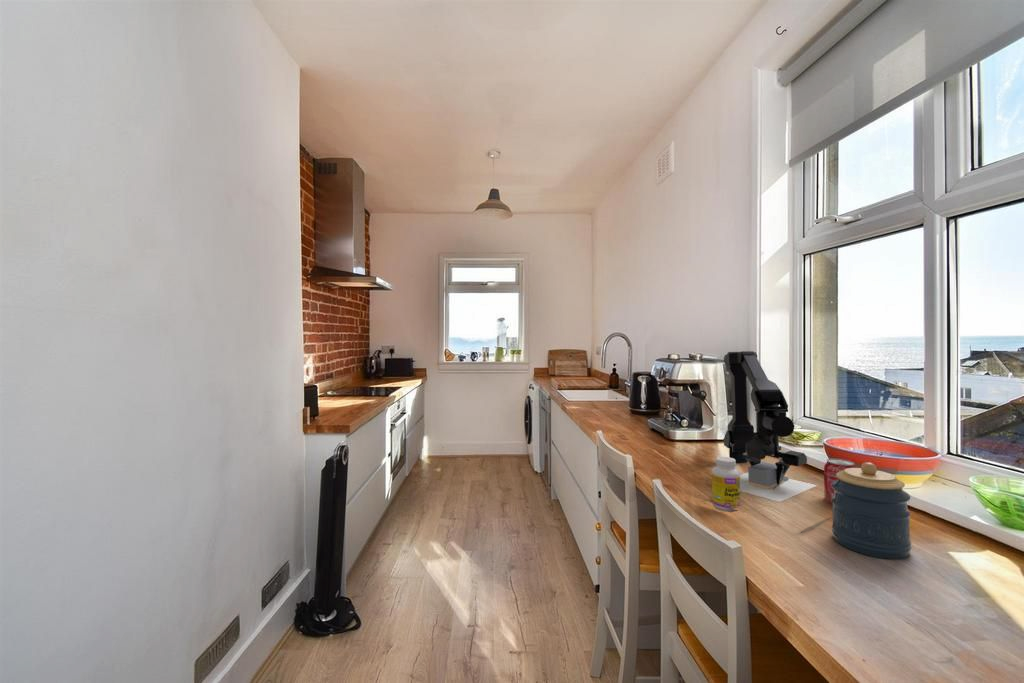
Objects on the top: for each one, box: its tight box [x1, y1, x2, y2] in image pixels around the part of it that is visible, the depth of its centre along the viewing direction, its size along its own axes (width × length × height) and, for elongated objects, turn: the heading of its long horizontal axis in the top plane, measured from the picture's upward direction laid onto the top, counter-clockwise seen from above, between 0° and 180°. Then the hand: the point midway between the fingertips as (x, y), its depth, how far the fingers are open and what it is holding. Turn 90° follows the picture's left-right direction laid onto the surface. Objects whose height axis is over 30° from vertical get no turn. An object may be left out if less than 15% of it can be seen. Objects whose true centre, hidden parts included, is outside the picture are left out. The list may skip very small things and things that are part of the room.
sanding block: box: [747, 461, 784, 489], centre depth 127 cm, size 9×6×5 cm, turn 123°
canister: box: [831, 461, 912, 560], centre depth 92 cm, size 13×13×18 cm
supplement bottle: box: [711, 456, 741, 513], centre depth 114 cm, size 7×7×13 cm
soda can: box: [823, 458, 856, 505], centre depth 112 cm, size 7×7×12 cm
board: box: [740, 472, 818, 503], centre depth 126 cm, size 22×18×2 cm
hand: (768, 481), depth 127 cm, fingers closed on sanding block, 5 cm apart
